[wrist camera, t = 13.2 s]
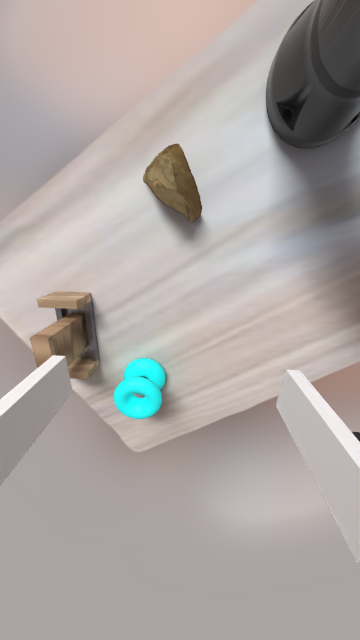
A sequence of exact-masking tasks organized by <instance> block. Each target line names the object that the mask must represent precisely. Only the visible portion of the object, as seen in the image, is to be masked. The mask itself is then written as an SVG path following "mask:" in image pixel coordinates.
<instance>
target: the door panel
mask: <svg viewBox="0 0 360 640" xmlns="http://www.w3.org/2000/svg"><path fill="white" fill-rule="evenodd" d="M30 341H31V344H32V348H33V352H34V356H35V360H36V363H37V367H40V366H41V365H42V364H43V363H44V362H46V361H47V360H48V359H49V358H50V357H52V356H53V355H56V356H65V357H66V362H67V366H68V367H69V366H70V365H71V363H72V362H73V361H74V360H75V359H76V358H77V357H78V356H79V355H80V354H81V353H82V352H83V351H84V350H85V349H86V348H87V347H88V343H87V336H86V330H85V323H84V316H83V314H68V315H67V316H65V317H63V318H62V319H60V320H58V321H57V322H55V323H53V324H52V325H50V326H48V327H47V328H45V329H43V330H42V331H40V332H38V333H37V334H35V335H34V336H32V337H30Z"/></svg>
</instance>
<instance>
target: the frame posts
mask: <svg viewBox="0 0 360 640" xmlns="http://www.w3.org/2000/svg"><path fill="white" fill-rule="evenodd" d="M91 300H92V298H91V293H78V292H54V293H51V294H49V295H46V296H43V297H41V298H38V299H37V302H38V307H45V308H67V309H78V308H80V307H82V306H83V305H85V304H87V303H88V302H90V301H91ZM99 364H100V361H99V359H98V360H97V361H91V358H76V359H75V360H74V361H73V362H72V363H71V365H70V366H69V367H68V371H69V376H70V378H75V379H89V378H90V377H91V375H92V374H93V372H94V371H95V370H96V368H97V367H98V365H99Z"/></svg>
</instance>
